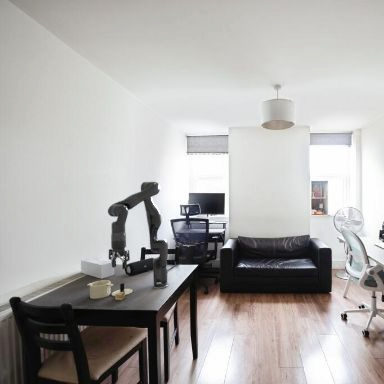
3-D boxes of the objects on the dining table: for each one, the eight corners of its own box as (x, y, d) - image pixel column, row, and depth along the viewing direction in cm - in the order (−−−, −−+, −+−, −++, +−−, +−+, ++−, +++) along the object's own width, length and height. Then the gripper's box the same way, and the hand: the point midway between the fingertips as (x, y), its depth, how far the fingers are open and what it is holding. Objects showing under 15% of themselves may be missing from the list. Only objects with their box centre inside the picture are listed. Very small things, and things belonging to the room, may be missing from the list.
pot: (95, 292, 178) (95, 279, 178) (118, 293, 176) (117, 280, 176) (81, 298, 167) (81, 285, 167) (106, 300, 165) (105, 286, 165)
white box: (81, 272, 225) (80, 260, 225) (94, 269, 234) (94, 257, 234) (101, 278, 208) (100, 265, 208) (114, 275, 217) (114, 261, 217)
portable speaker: (131, 277, 210) (131, 264, 210) (124, 275, 215) (123, 263, 215) (158, 269, 232) (158, 257, 232) (151, 267, 237) (150, 256, 237)
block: (119, 298, 167) (119, 291, 168) (125, 298, 167) (125, 292, 167) (115, 300, 164) (115, 294, 164) (121, 300, 163) (121, 294, 163)
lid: (119, 290, 182) (119, 279, 182) (136, 290, 180) (136, 280, 180) (107, 297, 170) (107, 286, 170) (124, 297, 168) (124, 286, 168)
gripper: (133, 239, 151) (133, 267, 151) (115, 237, 157) (116, 265, 157) (121, 241, 144) (122, 271, 144) (104, 239, 150) (104, 268, 150)
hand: (119, 267), depth 150 cm, fingers open, 8 cm apart
